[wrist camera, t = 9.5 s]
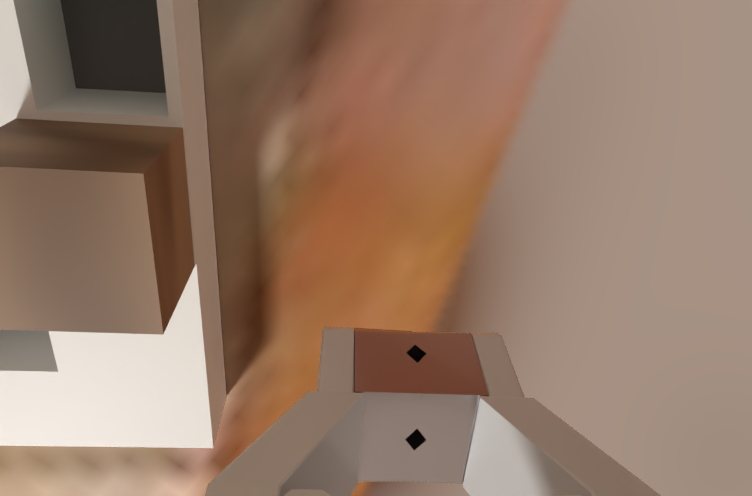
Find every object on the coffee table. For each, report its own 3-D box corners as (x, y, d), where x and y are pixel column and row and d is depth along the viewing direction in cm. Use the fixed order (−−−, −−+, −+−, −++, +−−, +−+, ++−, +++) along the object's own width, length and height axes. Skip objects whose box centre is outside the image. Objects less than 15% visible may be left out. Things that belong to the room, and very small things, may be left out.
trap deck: (6, 392, 21) (-33, 444, 19) (-183, -224, 13) (-292, -258, 11) (226, 396, 22) (213, 447, 20) (183, -192, 13) (152, -217, 11)
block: (47, 260, 16) (-16, 328, 13) (16, 118, 14) (-67, 163, 11) (194, 266, 16) (163, 334, 14) (182, 127, 14) (143, 173, 12)
